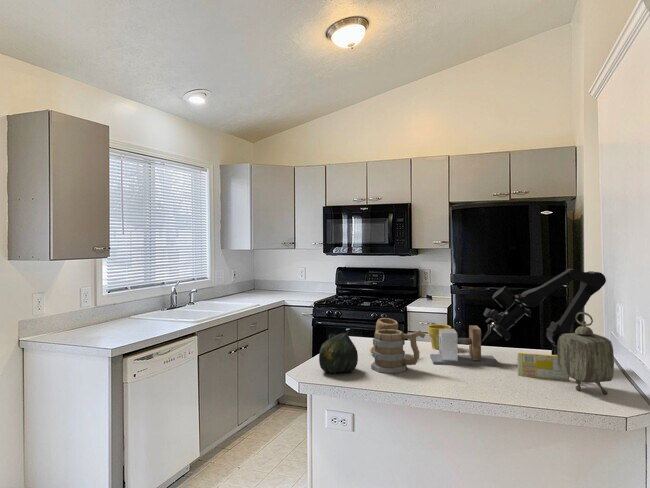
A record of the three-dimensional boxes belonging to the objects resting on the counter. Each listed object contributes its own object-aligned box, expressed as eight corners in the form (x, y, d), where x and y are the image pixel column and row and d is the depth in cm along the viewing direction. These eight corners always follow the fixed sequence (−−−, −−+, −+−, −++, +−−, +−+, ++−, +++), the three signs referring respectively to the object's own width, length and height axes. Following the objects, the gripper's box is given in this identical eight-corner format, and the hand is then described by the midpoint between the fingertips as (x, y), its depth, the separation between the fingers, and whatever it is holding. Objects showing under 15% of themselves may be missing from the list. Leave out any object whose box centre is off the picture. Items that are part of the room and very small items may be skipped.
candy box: (568, 379, 155) (568, 355, 155) (569, 381, 153) (569, 357, 153) (517, 374, 162) (517, 351, 162) (517, 375, 160) (517, 352, 160)
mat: (492, 357, 184) (492, 355, 184) (499, 365, 172) (499, 363, 172) (430, 356, 187) (430, 354, 187) (433, 364, 175) (433, 361, 175)
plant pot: (426, 349, 199) (425, 327, 199) (429, 344, 209) (429, 323, 209) (450, 351, 195) (449, 329, 195) (452, 346, 205) (452, 325, 205)
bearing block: (454, 355, 184) (453, 328, 184) (457, 361, 175) (457, 333, 175) (439, 355, 185) (438, 328, 185) (441, 360, 176) (441, 333, 176)
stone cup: (395, 358, 185) (395, 322, 185) (367, 356, 189) (367, 320, 189) (401, 349, 199) (401, 316, 199) (375, 348, 203) (375, 315, 203)
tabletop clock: (614, 396, 137) (613, 315, 137) (589, 399, 135) (588, 316, 135) (578, 382, 151) (577, 308, 151) (555, 384, 150) (554, 309, 149)
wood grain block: (476, 355, 183) (476, 325, 183) (481, 360, 175) (480, 329, 175) (444, 354, 184) (444, 325, 184) (446, 359, 176) (446, 328, 176)
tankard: (368, 371, 166) (368, 331, 166) (376, 362, 178) (376, 325, 178) (423, 376, 159) (422, 334, 159) (427, 367, 171) (427, 328, 171)
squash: (305, 355, 169) (325, 329, 162) (332, 350, 179) (351, 325, 173) (325, 387, 161) (347, 360, 155) (352, 379, 172) (373, 354, 166)
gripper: (490, 298, 187) (463, 324, 188) (502, 304, 169) (472, 333, 170) (510, 317, 186) (482, 343, 188) (524, 326, 168) (493, 354, 169)
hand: (482, 343), depth 179 cm, fingers closed
